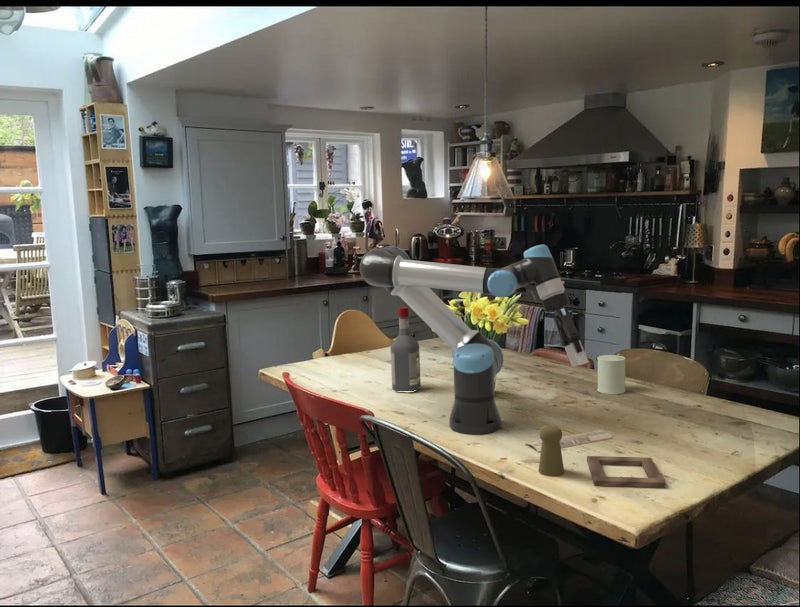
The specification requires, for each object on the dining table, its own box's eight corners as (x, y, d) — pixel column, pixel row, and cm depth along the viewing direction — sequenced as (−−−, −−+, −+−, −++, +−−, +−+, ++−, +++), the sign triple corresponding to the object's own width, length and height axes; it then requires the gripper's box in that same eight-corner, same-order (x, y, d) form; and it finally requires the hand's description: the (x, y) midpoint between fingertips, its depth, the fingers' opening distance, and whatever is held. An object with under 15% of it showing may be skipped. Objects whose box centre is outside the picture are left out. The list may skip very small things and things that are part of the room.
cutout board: (594, 485, 143) (594, 480, 143) (586, 460, 158) (586, 455, 158) (665, 488, 141) (665, 482, 140) (650, 462, 155) (650, 457, 155)
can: (625, 395, 213) (625, 359, 211) (596, 393, 216) (596, 358, 214) (625, 387, 221) (625, 353, 220) (597, 386, 224) (597, 353, 223)
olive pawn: (546, 478, 149) (545, 432, 147) (533, 468, 154) (533, 424, 153) (569, 474, 150) (568, 429, 149) (556, 465, 156) (556, 421, 154)
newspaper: (598, 434, 178) (598, 428, 178) (615, 442, 172) (615, 435, 172) (525, 447, 170) (525, 441, 170) (540, 456, 164) (540, 450, 163)
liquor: (390, 392, 227) (387, 309, 224) (398, 386, 236) (395, 305, 232) (415, 393, 225) (412, 309, 221) (422, 387, 233) (419, 305, 229)
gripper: (571, 284, 174) (600, 358, 171) (560, 297, 199) (585, 362, 195) (545, 294, 175) (573, 367, 171) (537, 306, 199) (562, 370, 196)
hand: (580, 365), depth 183 cm, fingers open, 13 cm apart
